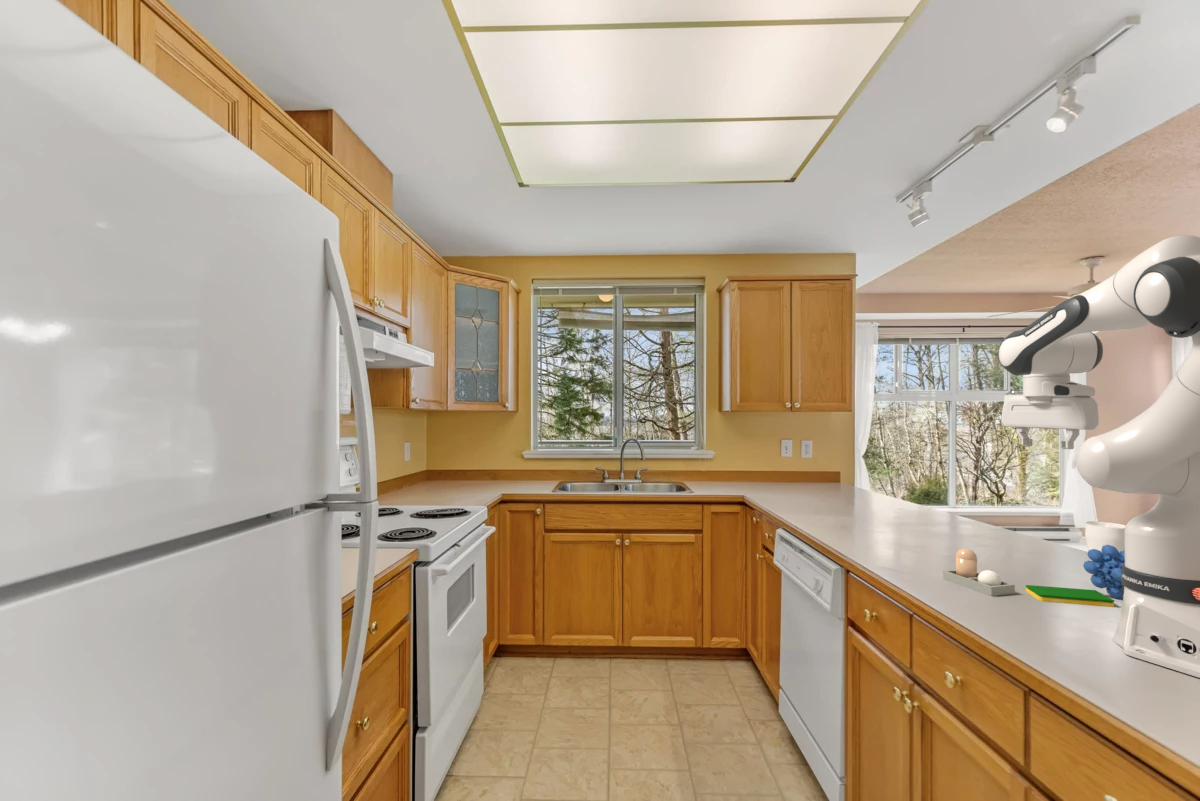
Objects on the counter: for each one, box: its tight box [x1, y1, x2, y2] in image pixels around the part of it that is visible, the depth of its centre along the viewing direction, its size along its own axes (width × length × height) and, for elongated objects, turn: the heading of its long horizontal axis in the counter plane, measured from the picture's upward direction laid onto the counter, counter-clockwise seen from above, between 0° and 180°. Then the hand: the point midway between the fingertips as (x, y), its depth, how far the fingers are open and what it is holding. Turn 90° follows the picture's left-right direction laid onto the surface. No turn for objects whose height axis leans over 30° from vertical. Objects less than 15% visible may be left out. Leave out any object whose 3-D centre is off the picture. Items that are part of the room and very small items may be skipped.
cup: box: [1084, 520, 1127, 561], centre depth 149 cm, size 9×9×12 cm
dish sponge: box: [1025, 584, 1115, 608], centre depth 125 cm, size 7×14×2 cm, turn 74°
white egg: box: [978, 569, 1002, 586], centre depth 131 cm, size 5×5×5 cm
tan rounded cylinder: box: [955, 547, 978, 578], centre depth 137 cm, size 4×4×8 cm
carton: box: [942, 569, 1016, 597], centre depth 134 cm, size 13×7×2 cm, turn 14°
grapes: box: [1082, 545, 1125, 599], centre depth 126 cm, size 12×7×12 cm, turn 57°
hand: (1046, 447), depth 132 cm, fingers open, 8 cm apart
